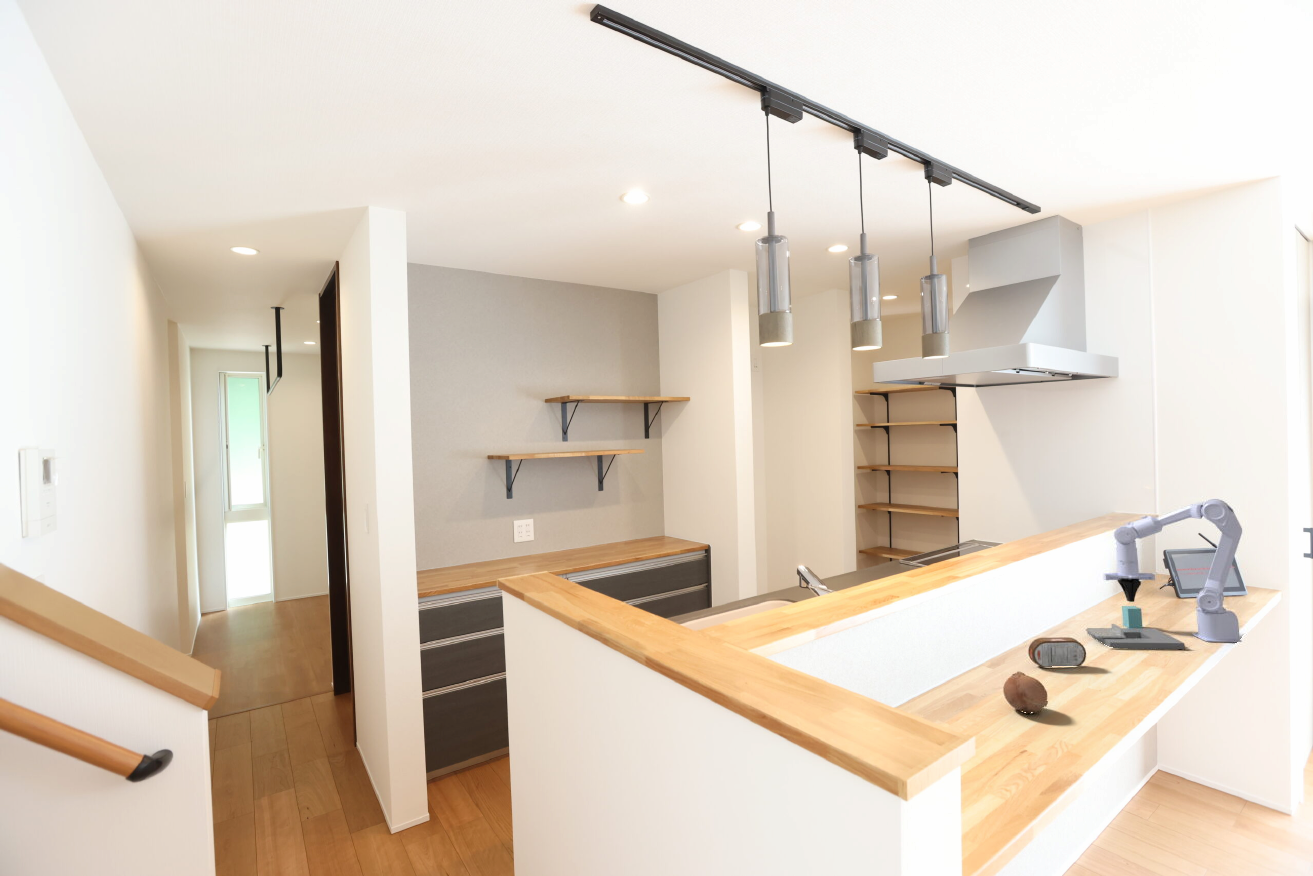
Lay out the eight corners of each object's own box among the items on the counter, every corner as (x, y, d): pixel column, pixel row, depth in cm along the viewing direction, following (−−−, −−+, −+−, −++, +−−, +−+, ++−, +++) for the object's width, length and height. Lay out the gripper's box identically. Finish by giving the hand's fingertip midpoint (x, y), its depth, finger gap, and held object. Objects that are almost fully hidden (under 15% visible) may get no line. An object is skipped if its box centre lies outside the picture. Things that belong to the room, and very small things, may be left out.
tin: (1082, 665, 184) (1080, 636, 184) (1089, 668, 181) (1087, 639, 181) (1028, 666, 185) (1026, 637, 186) (1033, 669, 182) (1031, 640, 182)
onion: (1016, 717, 159) (1005, 675, 163) (1057, 714, 153) (1045, 671, 158) (1003, 715, 153) (993, 671, 157) (1046, 712, 147) (1033, 667, 152)
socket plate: (1155, 634, 207) (1155, 628, 207) (1184, 649, 191) (1184, 643, 192) (1087, 634, 211) (1087, 628, 212) (1110, 648, 196) (1110, 642, 196)
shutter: (1113, 630, 206) (1112, 623, 206) (1125, 637, 199) (1124, 629, 199) (1085, 630, 208) (1085, 623, 208) (1096, 637, 200) (1096, 629, 200)
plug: (1136, 626, 217) (1135, 606, 217) (1142, 629, 213) (1141, 608, 213) (1123, 626, 218) (1121, 606, 218) (1129, 629, 214) (1127, 608, 214)
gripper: (1108, 563, 213) (1111, 603, 212) (1158, 562, 209) (1161, 604, 209) (1099, 559, 220) (1102, 599, 219) (1147, 559, 216) (1150, 599, 216)
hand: (1130, 601), depth 215 cm, fingers closed
